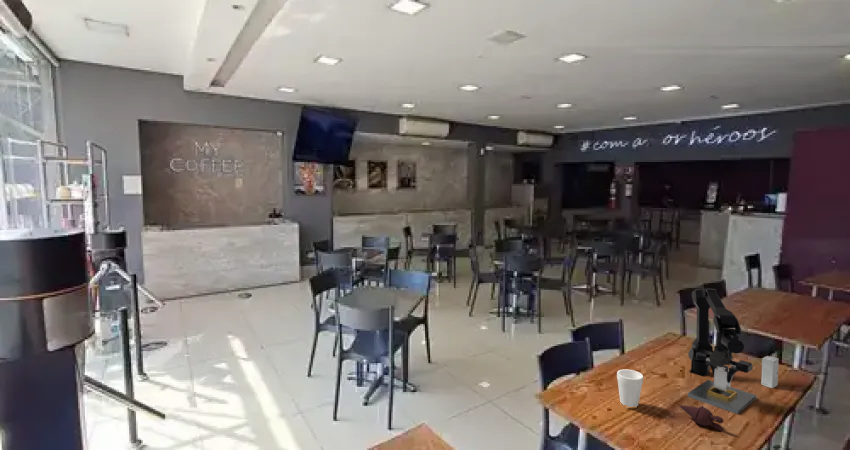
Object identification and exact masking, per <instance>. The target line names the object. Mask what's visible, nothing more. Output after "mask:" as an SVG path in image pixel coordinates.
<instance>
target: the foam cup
mask: <svg viewBox="0 0 850 450" xmlns="http://www.w3.org/2000/svg"><path fill="white" fill-rule="evenodd" d="M616 379H617V385H618V393H619V394H618V395H619V400H620V402H621V403H622V404H623V405H626V406H628V407H637V406H638V407H639V404H640V403H639V402H640V397H641V392H642V386H643V383H644V376H643V374H642V373H641V372H639V371H637V370H634V369H626V368H625V369H619V370H617V372H616ZM621 403H620V404H621Z"/></svg>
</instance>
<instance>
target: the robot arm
mask: <svg viewBox="0 0 850 450" xmlns="http://www.w3.org/2000/svg"><path fill="white" fill-rule="evenodd" d="M718 294H719V293H718V290H717V289H715V288H703V289H701V288H700V289H699V288H695V289H694V290H692V292H691V299H692V302H693V304H694V306H695V307H696V331H695V332H696V333H695V334H696V336H695V337H696V338H695V339H694V340H693V342H692V343H691V347H690V349H689V351H688V353H687V354H688V355H687V356H688V358H689V359H690V362H691V364H690V370H689V372H690V373H693V374H696V375H698V376H702V377H705V376H707V375H709V374H710V373H711V372H712V374H713V376H714V372H715V368H717V367H724V366H730V367H728V369H729V377H728V383H730V382H731V383H732V381H733V379H734V377H735V375H736V373H738V372H741V373H746V374H748V373H749V372H751V371H752V370H753V369H754V366H753V364H752V362H750V361H747V360H743V359H741V360H739V361H736V360H733V359H734V356H733V354H740V353H742V352H743V350H744V349H745V345H744V342H743V341H742V340H740V337H739V336H738V335H742V334H741V332H742V329H741V325H740V323H739V320H738V318H737V317H736V315H735V314H734V312H732V311H731V310H728V309H727V308H726V307H725V305H724V303H723V301H722V299H721V298H720V296H719V295H718ZM710 309H711V311H712V313H713V318H712V321H713V325H714V327H715V330H716V335H715V346H714V348H713V346H712V344H711V343H710V341H709V322H710V320H709V317H710V316H709V314H710V313H709V312H710V311H709V310H710ZM710 369H711V372H710Z"/></svg>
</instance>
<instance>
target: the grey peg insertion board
mask: <svg viewBox="0 0 850 450" xmlns="http://www.w3.org/2000/svg"><path fill="white" fill-rule="evenodd" d="M687 397H688V398H690V399H694V400H696V401H699V402H702V403H705V404H707V405H710V406H713V407H715V408H718V409H722V410H724V411H728V412H730V413H733V414H736V415H739V413H741V412H742V411H743V410H744V409H747V407H748V406H750V405H751V404H752V403H754V402H755V400H757V394H754V393H751V392H747V391H744V390H741V389H738V388H735V387H732V386H731V388H730V389H728V390H727V391H724V390H721V389H718V388H715V387H714V380H713V381H712V380H710V379H707V380H705V381H704V382H703V383H701V384H700V385H698V386H697V387H695V388H693V389H692V390H690V391H688V392H687Z"/></svg>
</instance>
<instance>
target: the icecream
mask: <svg viewBox="0 0 850 450" xmlns="http://www.w3.org/2000/svg"><path fill="white" fill-rule="evenodd" d="M679 408H681V409H682V410H683V411H684V412H685V413H686V414H687V415H689V417H691V418H692V419H693V421H694V423H695V425H701V426H706V427H707V426H711V427H712V428H714V429H715V430H716V431H719V432H723V431H724V427H722V425H720V424H723V423H724V418H722V416H719V415H714V414H713V413H712V411H710V409H708V408H706V407H704V406H703V405H701V406H699V407H697V406H691V405H690V406H689V405H684V404H683V405H682V404H680V405H679Z"/></svg>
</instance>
